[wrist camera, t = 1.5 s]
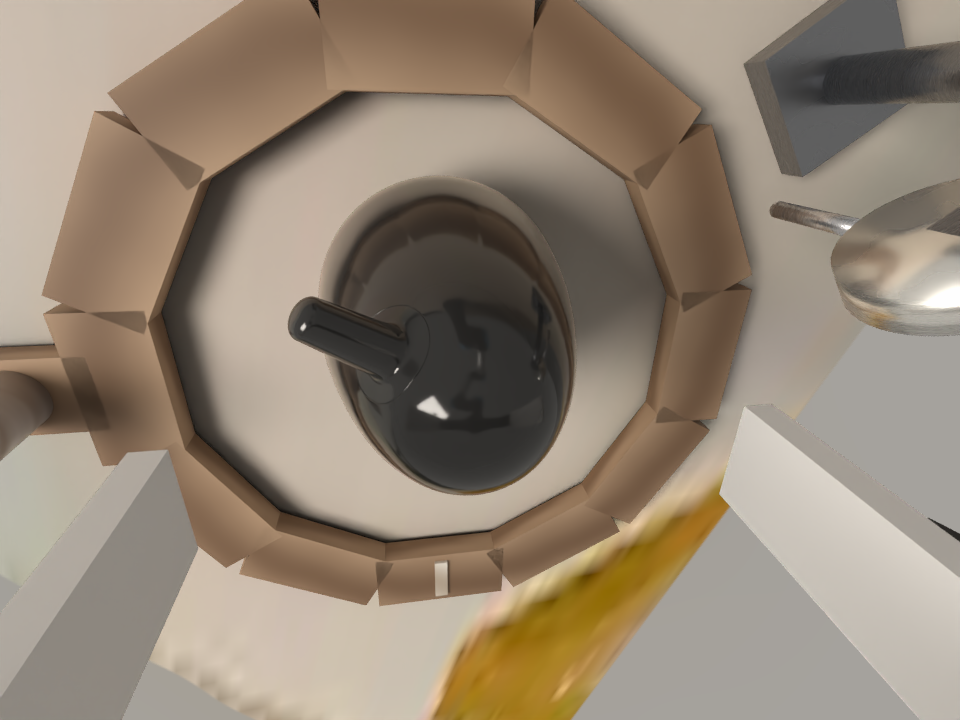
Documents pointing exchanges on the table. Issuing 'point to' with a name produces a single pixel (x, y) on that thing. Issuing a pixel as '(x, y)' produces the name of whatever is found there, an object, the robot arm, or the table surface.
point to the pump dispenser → (446, 333)
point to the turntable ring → (269, 112)
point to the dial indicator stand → (840, 121)
